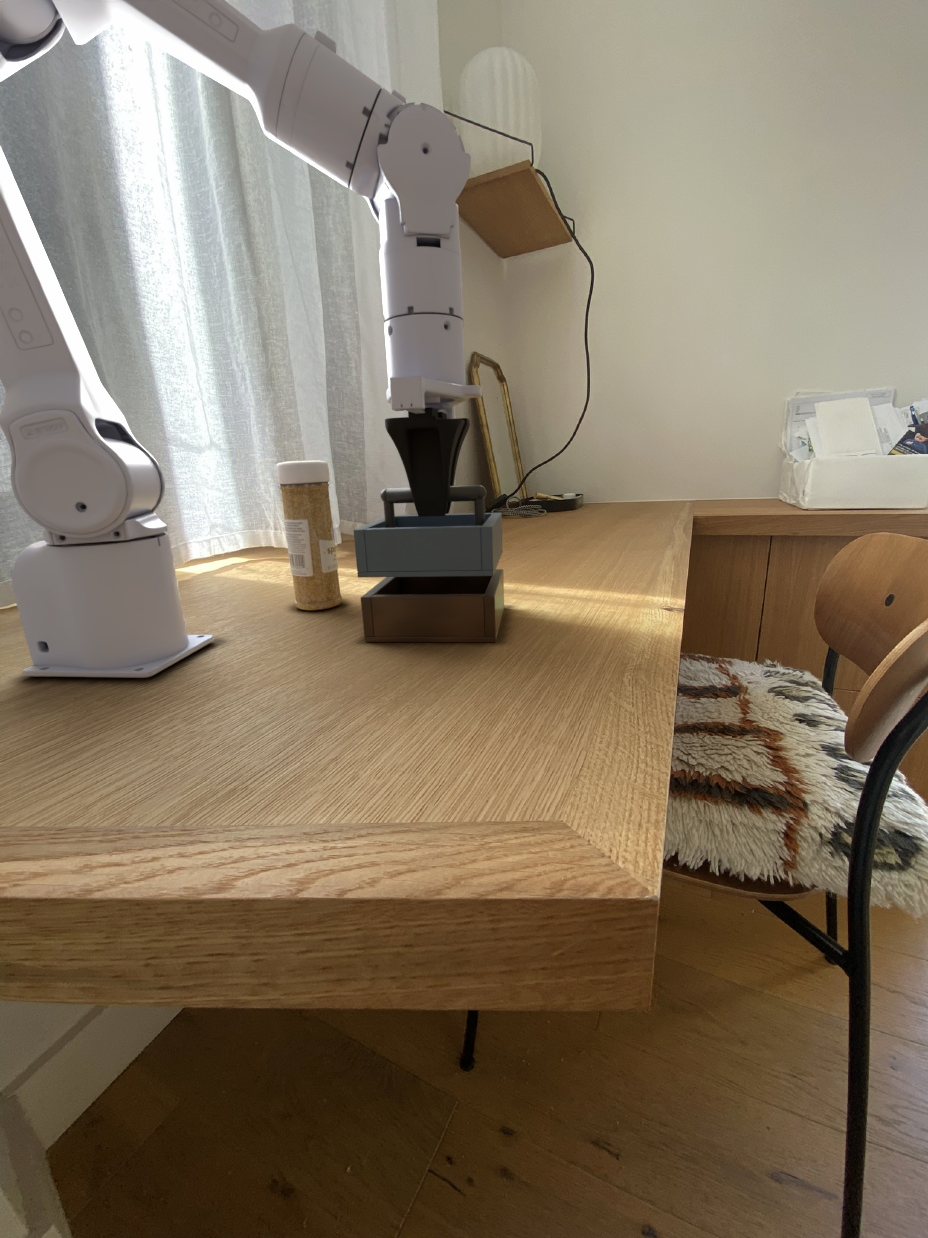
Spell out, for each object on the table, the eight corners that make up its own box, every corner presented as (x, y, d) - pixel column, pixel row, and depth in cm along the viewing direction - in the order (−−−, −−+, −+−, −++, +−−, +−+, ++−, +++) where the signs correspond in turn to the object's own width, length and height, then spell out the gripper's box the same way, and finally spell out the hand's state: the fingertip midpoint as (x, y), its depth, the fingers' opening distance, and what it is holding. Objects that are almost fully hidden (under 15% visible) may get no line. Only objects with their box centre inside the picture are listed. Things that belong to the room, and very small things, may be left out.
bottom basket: (364, 641, 42) (360, 597, 41) (396, 607, 52) (393, 570, 51) (495, 642, 41) (494, 596, 40) (504, 607, 50) (503, 569, 49)
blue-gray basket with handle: (357, 577, 41) (349, 492, 39) (392, 554, 50) (387, 485, 49) (493, 576, 39) (491, 487, 38) (502, 552, 49) (501, 481, 47)
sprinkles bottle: (349, 605, 53) (335, 459, 49) (302, 614, 51) (283, 461, 47) (332, 597, 57) (317, 460, 53) (288, 604, 54) (269, 462, 51)
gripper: (466, 290, 33) (474, 524, 36) (488, 339, 46) (492, 505, 50) (350, 300, 34) (369, 526, 37) (405, 345, 47) (415, 507, 51)
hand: (434, 514), depth 44 cm, fingers closed on blue-gray basket with handle
